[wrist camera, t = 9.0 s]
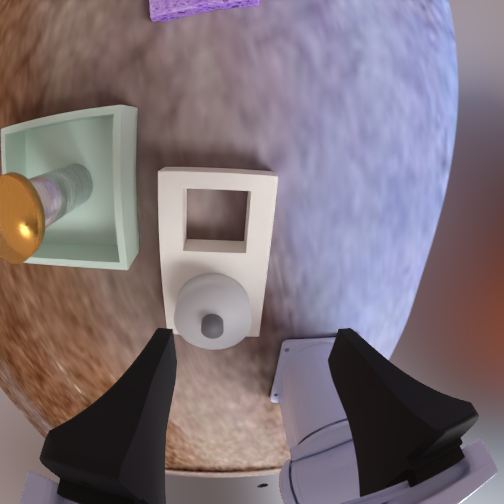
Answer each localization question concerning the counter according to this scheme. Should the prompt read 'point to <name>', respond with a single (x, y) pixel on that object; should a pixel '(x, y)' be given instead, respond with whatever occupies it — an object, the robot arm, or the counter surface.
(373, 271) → the counter surface
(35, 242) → the pin
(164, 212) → the block
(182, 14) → the sponges
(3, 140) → the tray
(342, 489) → the robot arm
